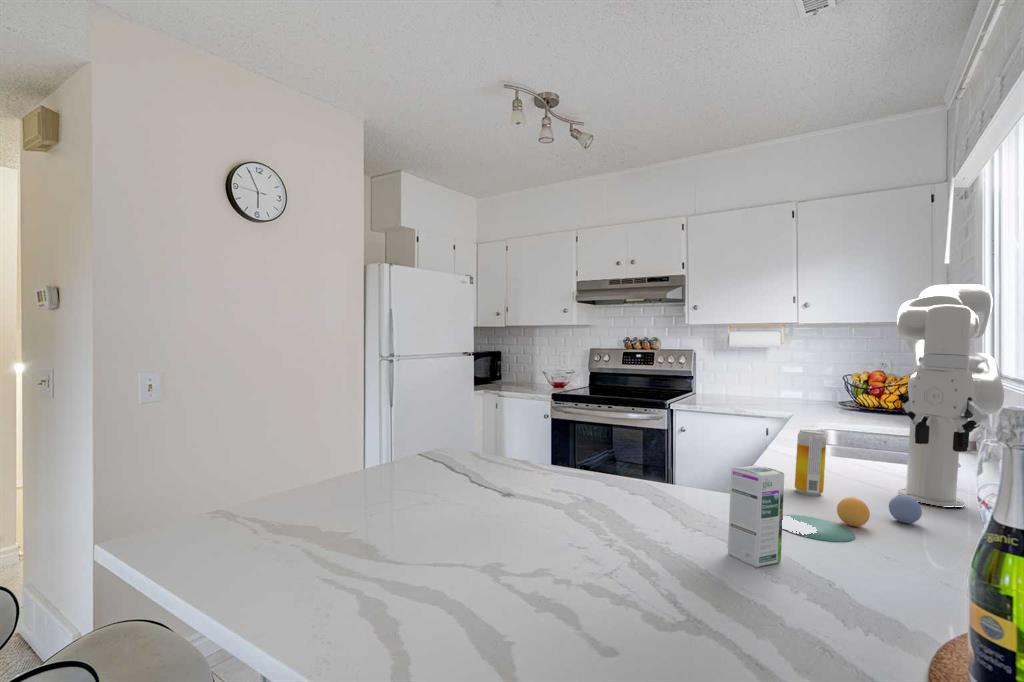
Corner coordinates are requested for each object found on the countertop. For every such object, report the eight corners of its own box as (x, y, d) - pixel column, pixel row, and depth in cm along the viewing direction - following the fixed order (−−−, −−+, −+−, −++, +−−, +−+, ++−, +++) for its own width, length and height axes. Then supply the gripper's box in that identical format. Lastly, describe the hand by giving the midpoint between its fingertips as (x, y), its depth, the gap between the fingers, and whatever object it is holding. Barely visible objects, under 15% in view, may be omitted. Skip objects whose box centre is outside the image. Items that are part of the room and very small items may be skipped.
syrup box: (757, 568, 81) (762, 474, 81) (725, 553, 86) (731, 465, 86) (781, 563, 83) (786, 472, 83) (749, 549, 89) (754, 463, 89)
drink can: (815, 490, 131) (819, 430, 131) (827, 497, 125) (831, 434, 125) (790, 488, 131) (793, 428, 131) (801, 495, 125) (804, 432, 125)
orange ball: (835, 518, 108) (836, 492, 108) (867, 524, 106) (868, 497, 106) (837, 526, 103) (838, 498, 103) (870, 532, 101) (872, 504, 101)
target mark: (773, 511, 111) (773, 510, 111) (851, 525, 104) (851, 524, 104) (770, 530, 99) (770, 529, 99) (859, 548, 92) (859, 547, 92)
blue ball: (886, 516, 112) (887, 490, 112) (918, 521, 110) (919, 495, 110) (890, 523, 107) (891, 496, 107) (923, 529, 105) (925, 501, 105)
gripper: (891, 360, 118) (887, 439, 118) (979, 365, 102) (974, 457, 102) (916, 361, 120) (911, 439, 120) (1006, 367, 104) (1000, 456, 104)
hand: (940, 446), depth 111 cm, fingers open, 6 cm apart
